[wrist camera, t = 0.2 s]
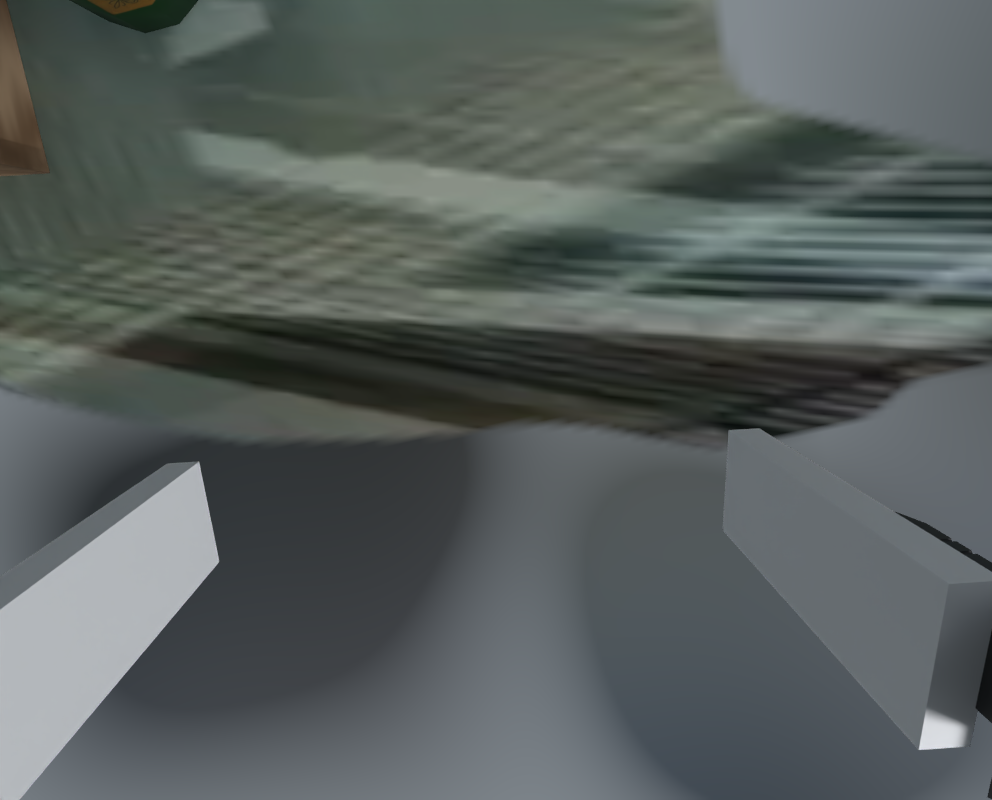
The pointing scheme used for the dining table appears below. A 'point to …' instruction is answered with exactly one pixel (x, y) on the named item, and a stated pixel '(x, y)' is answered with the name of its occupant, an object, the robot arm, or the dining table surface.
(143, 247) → the dining table surface
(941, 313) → the dining table surface
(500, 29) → the dining table surface
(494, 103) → the dining table surface
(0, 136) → the brown wooden u-shaped piece
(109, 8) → the bottle
